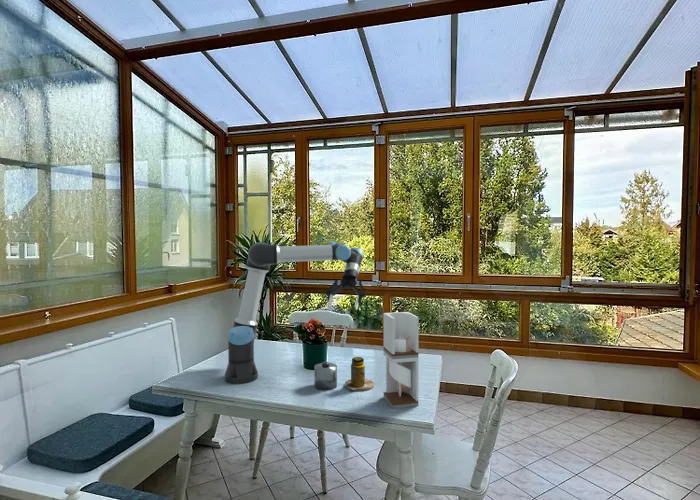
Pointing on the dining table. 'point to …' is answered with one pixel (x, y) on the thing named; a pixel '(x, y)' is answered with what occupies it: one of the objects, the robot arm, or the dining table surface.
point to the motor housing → (325, 376)
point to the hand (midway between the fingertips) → (342, 307)
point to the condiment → (357, 374)
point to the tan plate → (367, 382)
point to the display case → (401, 358)
